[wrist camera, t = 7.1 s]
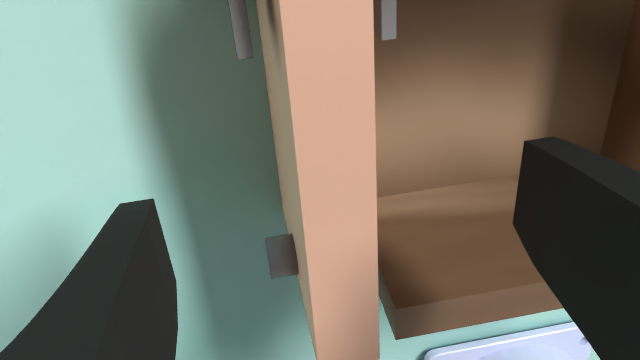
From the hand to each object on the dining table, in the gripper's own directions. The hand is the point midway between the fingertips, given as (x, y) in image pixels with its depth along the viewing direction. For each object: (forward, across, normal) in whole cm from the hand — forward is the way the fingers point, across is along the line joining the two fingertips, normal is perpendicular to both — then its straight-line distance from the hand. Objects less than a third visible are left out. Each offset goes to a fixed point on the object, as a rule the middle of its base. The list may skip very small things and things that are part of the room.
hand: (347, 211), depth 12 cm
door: (+8, 0, 0) cm, 8 cm away
